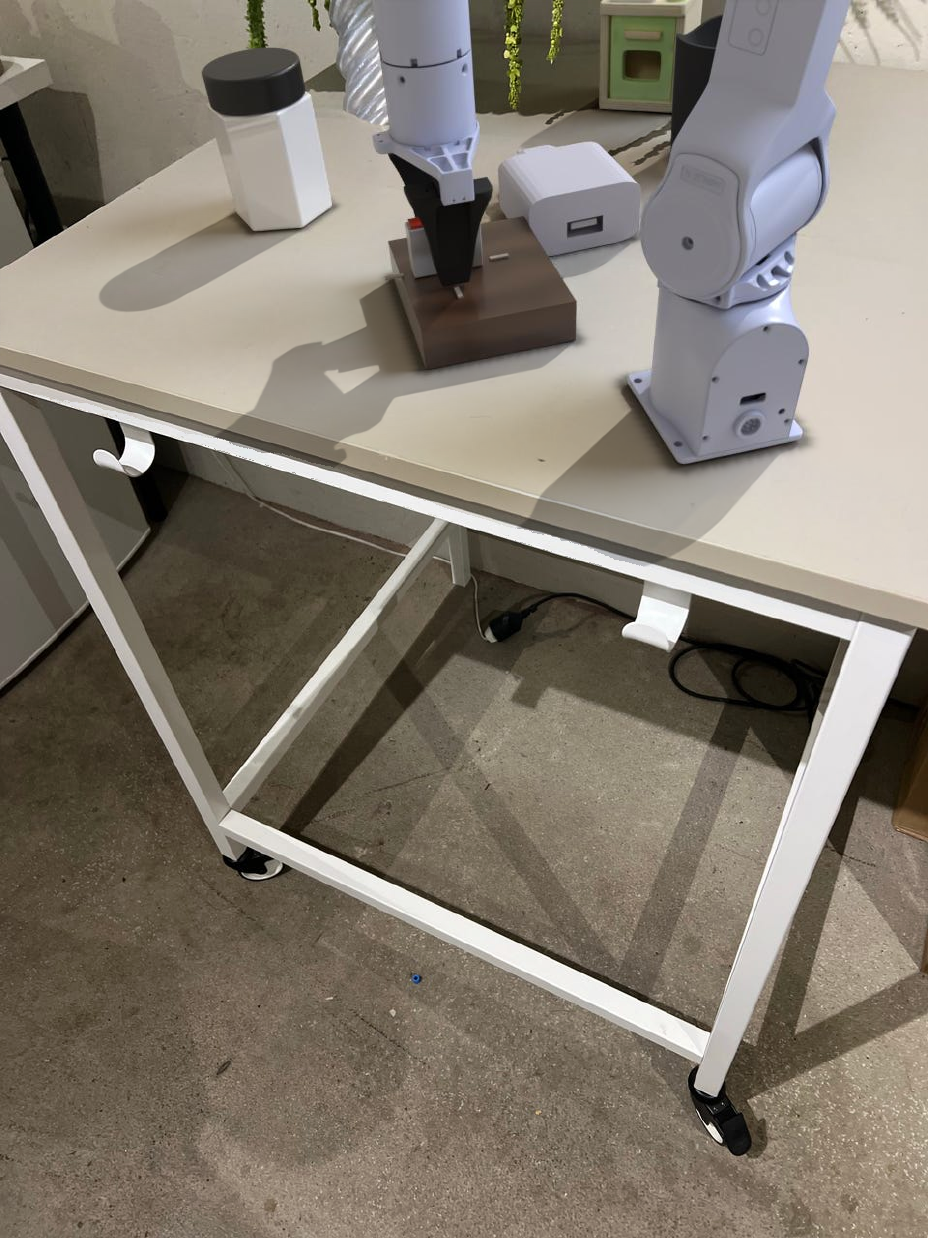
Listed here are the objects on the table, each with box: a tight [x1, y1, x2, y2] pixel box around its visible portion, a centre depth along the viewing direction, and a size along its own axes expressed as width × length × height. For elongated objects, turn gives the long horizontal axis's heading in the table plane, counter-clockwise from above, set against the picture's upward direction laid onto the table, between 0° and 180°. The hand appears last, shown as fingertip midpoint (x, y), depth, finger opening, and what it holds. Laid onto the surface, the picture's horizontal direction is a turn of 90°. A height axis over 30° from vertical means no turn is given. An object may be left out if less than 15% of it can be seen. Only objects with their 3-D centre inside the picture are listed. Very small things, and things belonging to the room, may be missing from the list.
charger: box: [497, 141, 642, 257], centre depth 74 cm, size 5×9×15 cm
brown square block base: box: [384, 216, 578, 370], centre depth 65 cm, size 14×12×3 cm
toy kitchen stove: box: [598, 0, 703, 114], centre depth 85 cm, size 8×7×13 cm
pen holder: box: [669, 13, 724, 154], centre depth 76 cm, size 9×9×10 cm
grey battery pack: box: [404, 217, 483, 278], centre depth 63 cm, size 5×2×4 cm, turn 103°
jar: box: [201, 47, 333, 232], centre depth 75 cm, size 9×8×12 cm
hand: (446, 262), depth 64 cm, fingers open, 5 cm apart
